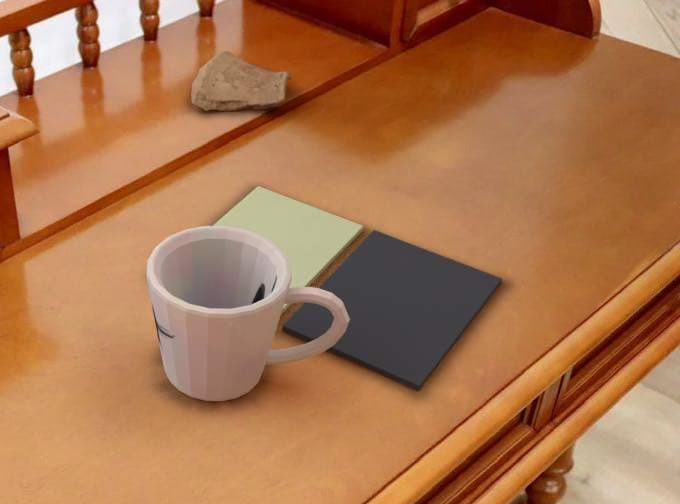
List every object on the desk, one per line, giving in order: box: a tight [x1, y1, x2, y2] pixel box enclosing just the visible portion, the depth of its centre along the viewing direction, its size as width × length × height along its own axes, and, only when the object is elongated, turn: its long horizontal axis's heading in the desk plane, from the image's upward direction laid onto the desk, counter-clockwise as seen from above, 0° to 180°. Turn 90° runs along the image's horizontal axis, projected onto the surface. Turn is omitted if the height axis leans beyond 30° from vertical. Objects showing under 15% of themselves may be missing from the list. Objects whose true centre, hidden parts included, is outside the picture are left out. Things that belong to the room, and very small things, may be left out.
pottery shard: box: [190, 50, 292, 112], centre depth 115 cm, size 11×4×10 cm
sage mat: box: [212, 185, 364, 316], centre depth 95 cm, size 11×16×1 cm
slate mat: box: [281, 229, 503, 392], centre depth 90 cm, size 12×16×1 cm
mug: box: [146, 225, 350, 402], centre depth 81 cm, size 10×15×10 cm
